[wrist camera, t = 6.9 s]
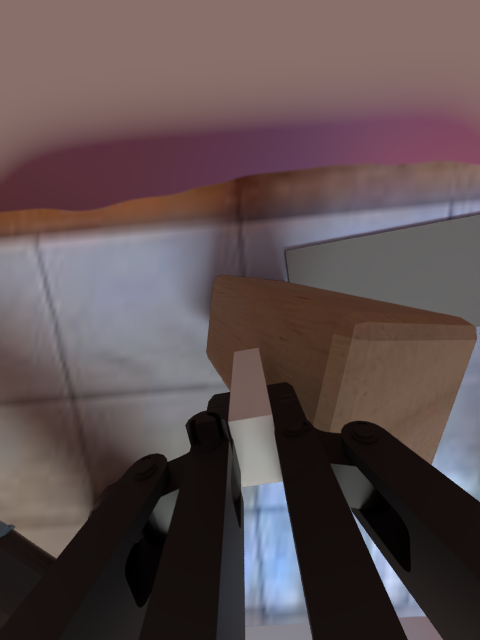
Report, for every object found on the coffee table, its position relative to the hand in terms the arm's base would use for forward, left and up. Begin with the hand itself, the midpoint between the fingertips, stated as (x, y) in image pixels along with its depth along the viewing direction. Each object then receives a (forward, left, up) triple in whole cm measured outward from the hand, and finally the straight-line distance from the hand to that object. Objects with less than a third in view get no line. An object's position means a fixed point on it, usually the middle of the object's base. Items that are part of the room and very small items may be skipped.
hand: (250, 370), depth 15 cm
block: (0, 0, -16) cm, 16 cm away
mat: (+18, 0, -18) cm, 25 cm away
